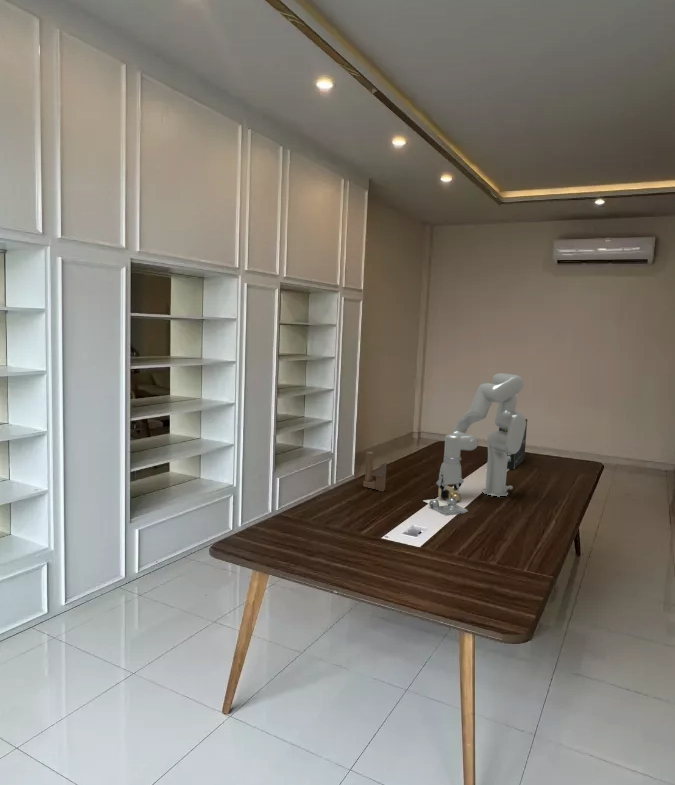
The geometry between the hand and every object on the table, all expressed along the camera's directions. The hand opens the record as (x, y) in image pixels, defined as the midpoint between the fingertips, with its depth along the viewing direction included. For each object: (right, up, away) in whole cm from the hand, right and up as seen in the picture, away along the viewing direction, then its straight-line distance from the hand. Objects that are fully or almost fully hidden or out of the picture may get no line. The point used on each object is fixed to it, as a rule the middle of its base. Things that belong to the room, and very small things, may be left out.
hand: (449, 497), depth 274 cm
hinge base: (-4, -2, -17) cm, 18 cm away
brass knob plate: (0, -1, 0) cm, 1 cm away
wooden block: (-35, +2, +11) cm, 37 cm away
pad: (-8, -1, -8) cm, 12 cm away
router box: (+54, +6, +83) cm, 99 cm away
